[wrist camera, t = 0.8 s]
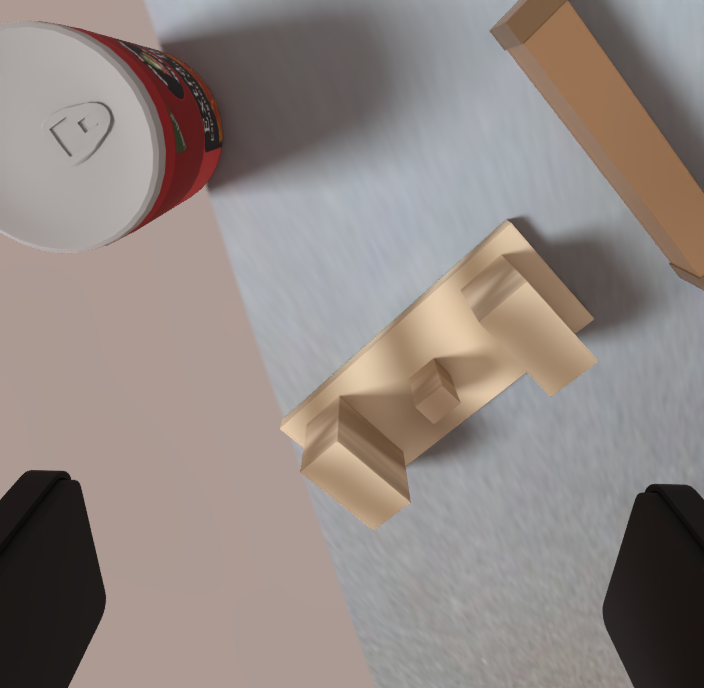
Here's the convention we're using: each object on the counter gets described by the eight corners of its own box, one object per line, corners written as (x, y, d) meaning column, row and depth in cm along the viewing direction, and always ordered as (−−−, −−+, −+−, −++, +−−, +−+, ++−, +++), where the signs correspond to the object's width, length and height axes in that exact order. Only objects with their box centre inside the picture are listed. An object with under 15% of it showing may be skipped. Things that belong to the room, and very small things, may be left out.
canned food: (256, 128, 29) (204, 141, 19) (165, 234, 31) (77, 297, 21) (137, 10, 27) (6, -46, 17) (49, 134, 29) (-112, 151, 19)
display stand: (506, 219, 31) (540, 245, 25) (587, 312, 33) (634, 354, 28) (281, 420, 36) (269, 477, 31) (365, 488, 39) (367, 552, 33)
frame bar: (489, 30, 27) (505, 22, 24) (531, -13, 26) (553, -27, 23) (679, 277, 32) (711, 294, 29) (719, 247, 31) (755, 261, 29)
